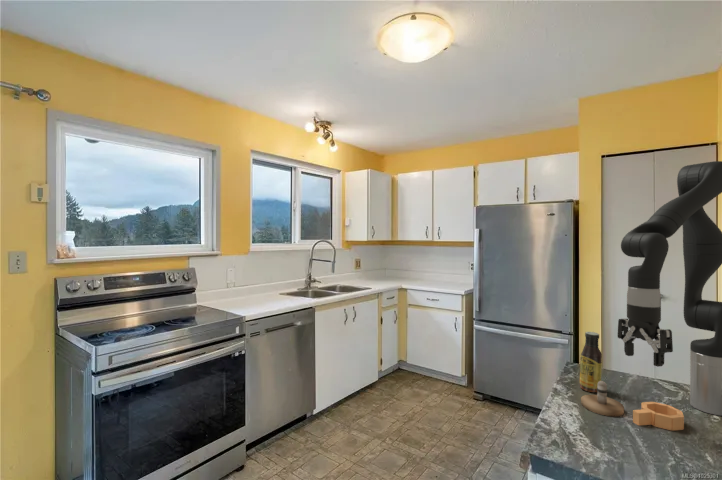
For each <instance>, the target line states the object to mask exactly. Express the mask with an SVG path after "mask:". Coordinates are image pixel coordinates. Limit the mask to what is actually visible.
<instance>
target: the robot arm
mask: <svg viewBox="0 0 722 480" xmlns="http://www.w3.org/2000/svg"><path fill="white" fill-rule="evenodd" d="M676 185H677V194H678V196H677V197H675V198H673V199H671V200H670V201H668V202H666V203H665V204H663V205H662V206H660V207H659V208H658V209H657V210H655V212H654V213H653V214H652V215H651V216H650V217H649V218H648V220H646V221H645V222H643V223H641V224H639V225H638V226H636V227H635V228H633V229H631V230H630V231H628V233H626V234H625V235H624V236H623V238H622V240H621V243H620V249H621V251H622V253H623V255H626V256H627V257H631V258H639V259H640V258H643V259H644V260H643V262H642V263H641V265H635V266H631V267H629V268H628V271H627V286H628V287H627V293H626V318H618V320H617V321H618V324H617V339H621V340H622V341H623V345H624V348H623V349H624V350H623V351H624V353H625V356H628V357H633V356H634V355H635V343H634V342H635V340H636V339H640V340H641V341H645V342H646V343H647V344H648V345H649V346H651V348H652V350H653V351H654V352H653V366H655V367H659V368H660V367H662V366H663V365H665V353H673V352H674V347H673V331H672V330H671V329H662V328H660V325H659V324H660V322H661V320H662V295H661V272H662V269H663V266H664V263H665V261H666V258H667V255H668V252H669V247H670V245H669V242H668V239H669V238H670V237H672V236H673V235H674V234H676V233H677V231H678V230H679V229H680V228H681V227H682V251H683V264H684V265H683V267H684V292H683V293H684V294H683V295H684V296H683V319H684V322H685V324H686V325H687V326H688V327H690V328H692V329H697V330H704V331H708V332H713V333H714V337H711V338H702V339H701V338H700V339H693V340H691V342H690V348H689V349H690V350H689V351H690V354H689V355H690V356H689V358H690V359H689V360H690V361H689V363H690V365H689V367H690V368H689V369H690V370H689V371H690V372H689V373H690V375H689V382H690V383H689V389H690V390H689V398H690V399H689V404H690V406H691V407H692V408H694V409H696V410H698V411H701V412H704V413H707V414H711V415H715V416H722V301H716V300H709V299H703V298H702V297H703V289H704V287H705V285H706V284H707V282H708V281H709V279H710V278H711V277H712V276H713V275H714V274H715V273H716V271H718V269H719V268H720V267H721V266H722V231H721V229H720V228H719V227H718V225H717V224H716V223H715V222H714V221H713V220H712V218H711V217H709V215H708V213H706V211H705V209H704V206H705V205H707V204H708V203H709V202H711V201H712V200H714V199H715V198H716V197H718V196H719V195H721V194H722V160H720V161H719V160H715V161H708V162H700V163H694V164H688V165H684V166H682V167H680V169H679V171H678V174H677V179H676Z"/></svg>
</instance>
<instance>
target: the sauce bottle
mask: <svg viewBox="0 0 722 480" xmlns="http://www.w3.org/2000/svg"><path fill="white" fill-rule="evenodd" d="M584 337H585V344H584V345H583V349H582V351H581V353H580V359H579V360H580V362H579V363H580V364H579V387H580V389H582V391H585V392H589V393H597V384H598V382H599V381H602V369H603V368H602V367H603V361H602V360H603V359H602V356H603V354H602V351H601V349H600V348H599V339H600V334H599V333H598V332H594V331H585V333H584Z"/></svg>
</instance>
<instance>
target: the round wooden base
mask: <svg viewBox="0 0 722 480" xmlns="http://www.w3.org/2000/svg"><path fill="white" fill-rule="evenodd" d="M580 402H581V403H580V404H581V406H582V407H583V408H585V409H586V410H587V411H590V412H592V413H594V414H598V415H601V416H607V417H620V416H623V415H624V413H625V407H624V405H623V403H621V402H620V401H618V400H616V399H613V398H611V397H608V384H607V383H606V382H605V381H603V380H601V381H599V382H598V384H597V392H596V394H585V395H582V396H581V397H580Z"/></svg>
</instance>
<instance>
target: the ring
mask: <svg viewBox="0 0 722 480" xmlns="http://www.w3.org/2000/svg"><path fill="white" fill-rule="evenodd" d="M640 406H641V407H640V408H641V409H634V410H632V423H634V424H635V425H637V426H647V425H649V426H651V425H652V426H653V427H656V428H659V429H664V430H668V431H682V430H684V429H685V416H684V414H683V411H682V410H680V409H678V408H676V407H673V406H672V405H669V404H665V403H662V402H661V403H660V402H657V401H644V402H641V405H640Z"/></svg>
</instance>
